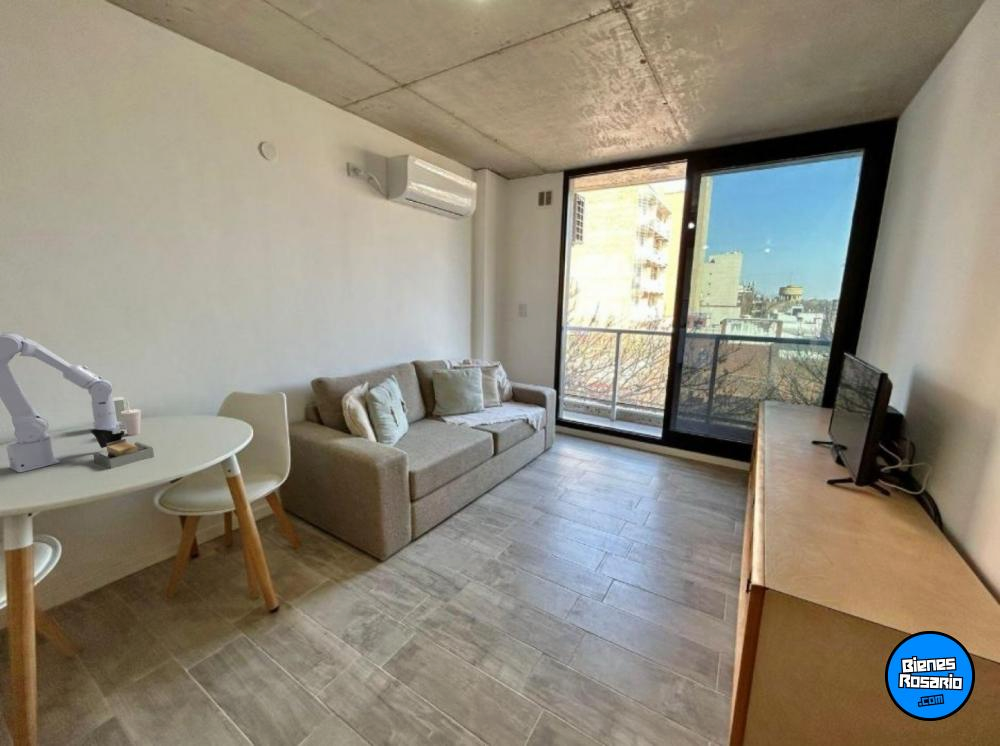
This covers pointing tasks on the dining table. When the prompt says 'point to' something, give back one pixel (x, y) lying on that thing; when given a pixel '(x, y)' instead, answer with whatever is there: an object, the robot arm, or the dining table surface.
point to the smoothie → (132, 420)
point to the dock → (125, 457)
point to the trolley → (120, 448)
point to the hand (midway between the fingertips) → (109, 448)
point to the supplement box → (119, 410)
